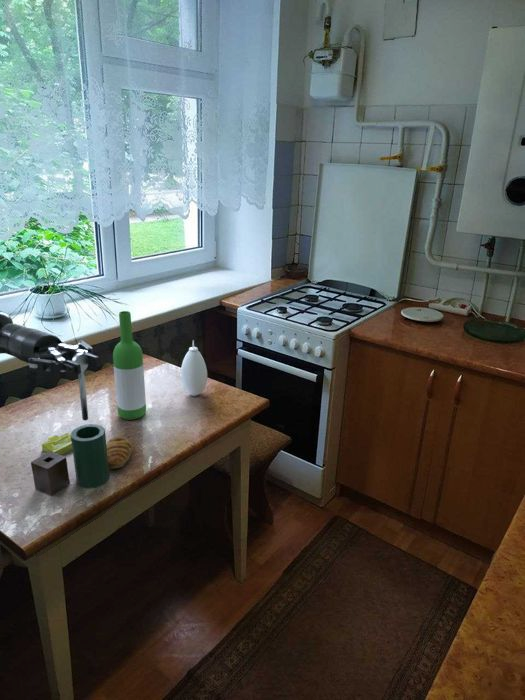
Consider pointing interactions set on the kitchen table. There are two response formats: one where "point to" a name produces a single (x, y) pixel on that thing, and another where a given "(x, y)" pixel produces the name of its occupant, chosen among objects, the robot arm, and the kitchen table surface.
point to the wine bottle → (129, 372)
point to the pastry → (118, 452)
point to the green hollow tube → (90, 455)
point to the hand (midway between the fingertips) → (88, 365)
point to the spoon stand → (50, 473)
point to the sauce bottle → (193, 372)
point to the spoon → (82, 381)
